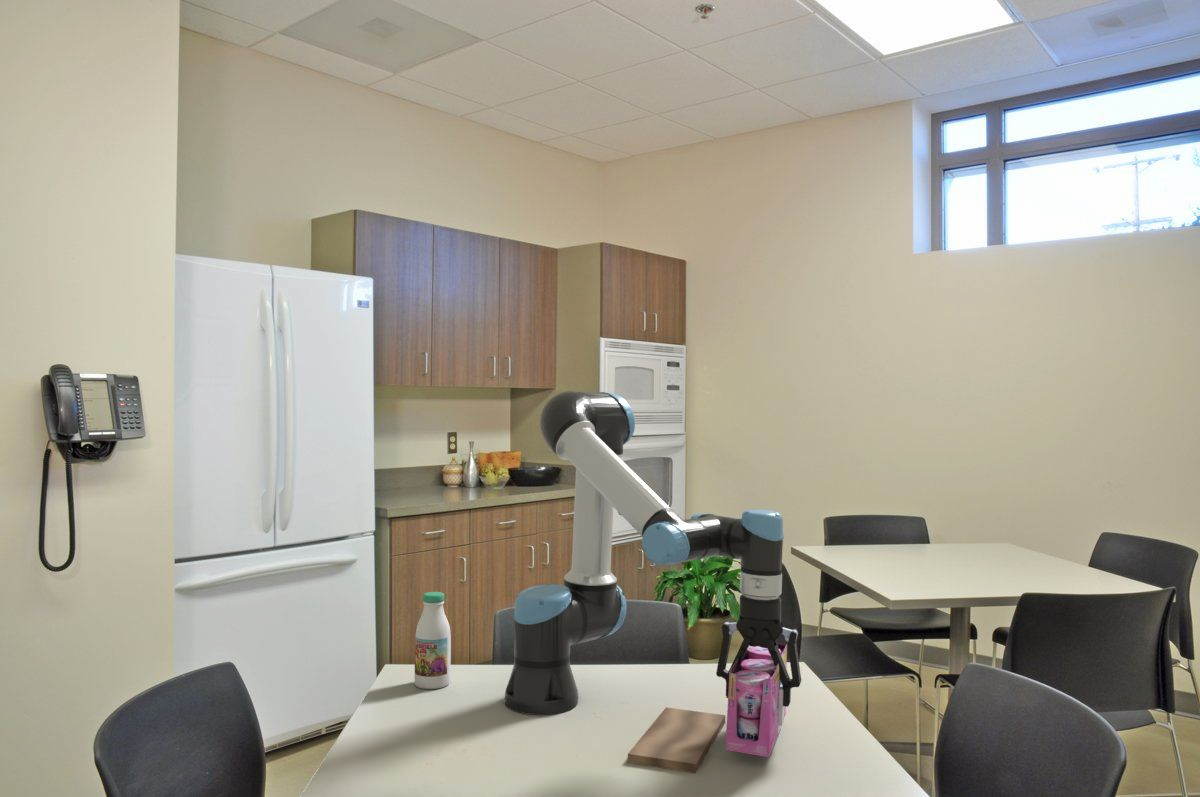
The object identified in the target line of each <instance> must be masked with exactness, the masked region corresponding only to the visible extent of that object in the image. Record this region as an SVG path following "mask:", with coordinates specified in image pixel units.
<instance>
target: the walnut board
mask: <svg viewBox="0 0 1200 797" xmlns="http://www.w3.org/2000/svg"><path fill="white" fill-rule="evenodd" d="M725 724H726V714H719V713H713V712H705V711H703V712H702V711H696V710H688V709H682V708H674V707H666V706H665V708H664V709H663V710H662V711H661V713H660V714H659V715H658V717H657V718H656V719H655V720H654V721H653V723H652V724H651V725H650V726H649V728H647V730H646V731H645V732H644V733H643V735H642V736H641V737H640V738H639V739H638V741H636V743H635V744H634V746H632V748H631V749H630V751H628V753H627V763H629V764H634V765H635V764H636V765H641V766H649V767H655V768H661V769H668V770H674V771H680V772H687V773H694V774H697V772H698V770H699V769H700V767H701V766H702V764H703V762H704V760H705V758H706V757H707V755H708V753H709V752H710V750H711V747H713V745H714V743H715V741H716V740H717V738H718V736H719V735H720V733H721V731H722V729H723V728H724V726H725ZM718 734H719V735H718Z"/></svg>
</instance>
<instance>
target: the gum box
mask: <svg viewBox="0 0 1200 797" xmlns="http://www.w3.org/2000/svg"><path fill="white" fill-rule="evenodd" d="M777 645H778V649H779V651H780V654H781V657H782V659H783V662H784V664H785V667H786V669H787V667H788V666H787V665H788V664H787V662H788V661H787V656H788V644H785V643H783V644H782V643H778V642H777ZM738 659H739V658H738ZM738 659H737V661H736V662H735V664H734V665H733V667H732V668H731V670H730V669H729V670H730V672H729V691H728V698H727V709H726V710H727V711H726V712H727V714H726V730H725V732H726V733H725V748H724V749H725V750H726V751H732V752H737V753H742V754H747V755H754V756H760V757H764V758H765V757H767V758H770V755H771V753H772V751H773V749H774V747H775V746H774V745H775V743H776V741H777V739H778V736H779V733H780V731H781V729H782V728H781V727H782V726H779V725H778V705H779V688H780V686H781V685H782V683H781V681H780V671H779V663H778V665H777V666H775V665H774V662H773V660H772V657H771V654H770V653H769V651H768V648H762V647H759V646H756V647H752V646H750V645H749V647H748V649H747V651H746V653H745V655H744V657H743V659H742V661H741V663H740V664H738ZM786 708H787V707H786V706H784V718H785V716H786V714H787V713H786V710H787V709H786Z"/></svg>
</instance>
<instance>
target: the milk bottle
mask: <svg viewBox="0 0 1200 797" xmlns="http://www.w3.org/2000/svg"><path fill="white" fill-rule="evenodd" d="M422 602H423V603H422V604H423V610H422V613H421V615H420V616H421V617H420V618H419V620H418V623H417V626H416V630H415V637H414V638H415V639H414V640H415V642H414V644H415V646H414V684H415V687H417V688H419V689H423V690H437V689H441V688H442V689H443V688H445V687H448V686H449V685H450V682H451V657H452V656H451V647H452V646H451V644H452V643H451V642H452V641H451V640H452V639H451V636H452V635H451V626H450V623H449V621H448V618H447V616H446V613H445V609H444V604H445V593H443V592H441V591H429V592H425V593H423V595H422Z"/></svg>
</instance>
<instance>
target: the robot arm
mask: <svg viewBox="0 0 1200 797" xmlns="http://www.w3.org/2000/svg"><path fill="white" fill-rule="evenodd" d="M635 419H636V418H635V414H634V411H633V409H632V407H631V405H630V404H629V403H628V402H627V400H626V398H624V397H622V396H620V394H617V393H611V392H604V391H571V390H570V391H563V392H559V393H557V394H555V395H554V396H552V397H550V399H549V400H548V401H547V402H546V403H545V404H544V406H543V407H542V410H541V413H540V417H539V428H540V431H541V435H542V437H543V438H542V439H543V440H544V441H545V443H546V444H547V446H548V447H549V448H550V450H551V451H552V452H553V453H554V455H556V456H557V457H558V458H559V459H560V460H562V461H569V462H570V464H572V465H573V467H574V468H575V481H574V482H575V484H574V485H575V487H574V490H575V491H574V503H573V504H574V505H573V506H574V508H573V528H572V529H573V530H572V552H571V567H570V568H571V569H570V570H569V571H568V572H567V573H566V574H565V575H564V576H563V584H557V583H552V584H551V583H549V584H544V585H543V584H539V585H533V586H530V587H528V588H526V589H523V590H522V591H520V592H519V593H518V595H517V596H516V598H515V600H514V611H513V619H514V620H513V623H514V624H513V632H514V635H513V637H514V638H513V639H514V640H513V642H514V643H513V667H512V670H511V673H510V676H509V679H508V681H507V682H508V683H507V684H506V688H505V691H504V705H505V706H506V707H507V708H508V709H510V710H512V711H514V712H518V713H522V714H527V715H553V714H561V713H564V712H567V711H569V710H572V709H573V708H575V707H577V705H578V704H579V690H578V687H577V684H576V680H575V677H574V674H573V672H572V671H573V670H572V668H571V660H570V659H571V646H574V645H578V644H582V643H587V642H590V641H594V640H595V641H596V640H601V639H604V638H606V637H608V636H610V635H613V634H614V633H616V632H617V631H618V630H619V629H620V628H621V626H622V625H623V623H624V620H625V618H626V615H627V600H626V597H625V595H623V593H624V592H623V590H622V588H621V587H620V586H619V585H618V584H617V583H618V579H617V577H616V576H615V574H613V573H612V571H611V568H612V567H611V566H612V564H611V563H612V546H613V544H612V543H613V524H614V509H615V510H616V511H617V512H618V513H619V514H620V515H621V516H622V517H623V519H624V520H626V521H627V523H629V524H630V526H632V528H633V529H634V530H635V531H636V532H637V533H638V534H639V535H640V536H641V537H642V540H641V545H642V549H643V551H644V554H645V557H646V558H647V559H648V561H650V562H651V563H653V564H654V565H658V566H673V565H675V566H676V565H679V564H682V563H686V562H690V561H696V560H702V559H707V558H712V557H723V558H732V559H735V560H740V574H739V576H740V578H739V580H740V581H739V584H740V585H739V591H740V593H741V595H740V596H739V609H738V610H739V615H738V619H737V621H736V622H730V621H725V622H724V623H723V624H722V626H721V632H722V640H721V647H720V652H719V657H718V662H717V667H716V673H715V674H716V676H717V677H719V678H722V679H724V680H725V697H726V699H728V691H729V672H730V670H731V668H732V667H733V665H734V664H735V662H736V661H737V659H738V658H739V659H738V664H740V663H741V661H742V659H743V657H744V655H745V653H746V651H747V649H748V647H749V645H750V646H752V647H756V646H759V647H762V648H768V651H769V653H770V654H771V657H772V660H773V662H774V665H775V666H777V665H778V663H779V671H780V681H781V683H782V685H781V686H780V688H779V705H778V725H779V726H781V727H783V724H784V722H785V717H784V706H786V708H787V707H788V708H789V705H790V703H791V700H792V699H791V694H792V692H791V691H792V689H793V688H799V687H800V686H801V683H802V676H801V669H800V668H801V667H800V661H799V653H798V646H797V645H798V644H797V640H798V635H799V631H798V630H797V628H793V629H791V628H786V627H785V626H784V625H783V623H782V598H781V597H780V596H781V595H782V593H783V592H782V591H783V588H782V587H783V546H784V538H785V534H784V522H783V520H784V519H783V516H782V514H780V513H779V512H778V511H776V510H772V509H771V510H769V509H758V508H757V509H755V508H754V509H746V510H744V511H743V512H742V514H741V518H734V517H729V516H722V515H716V514H714V513H695V514H693V515H692V516H691V517H690V518H689V519H683V518H682V517H681V516H680V515H679V514H678V513H676V512H675V511H674V510H673V509H672V508H671V507H670V506H669V505H668V504H667V503H666V502H665V501H664V500H663V499H662V498H661V497H660V496H659V495H658V494H657V493H656V492H655V491H654V490H653V489H652V488H651V487H650V486H649V485H648V484H647V483H645V481H643V479H642V478H641V477H640V476H639V475H638V474H637V473H636V472H635V471H634V470H633V469H632V468H630V466H628V464H626V462H625V461H624V460H622V458H621V457H623V456H624V445H626V444H627V443H628V442H629V441H630V439H631V438H632V437H633V435H634V432H635V429H636V420H635ZM736 629H737V631H738V633H739V634H740V636H741V637H742V638H743V641H741V644H740V646H739V648H738V651H737V652H736V655H735V657H734V660H733V661H732V663H731V665H730V668H729V669H726V668H727V664H728V657H729V653H730V648H731V644H732V637H733V635H734V633H735V632H736ZM781 635H783V636H784V640H785V641H786V642H787V652H788V656H789V663H790V664H789V665H790V666H789V667H790V672H791V677H792V678H790V675H789V673H788V672H789V671H788V669H787V668H786V667H785V664H784V662H783V659H782V657H781V654H780V651H779V649H778V645H777V643H778V642H777V640H778V639H779V637H780V636H781Z"/></svg>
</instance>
